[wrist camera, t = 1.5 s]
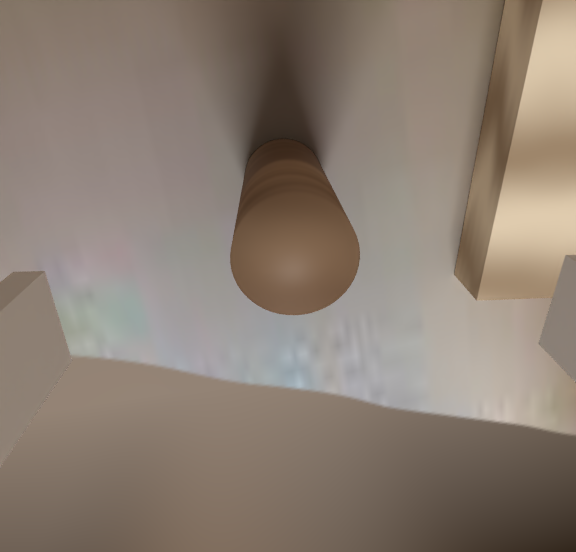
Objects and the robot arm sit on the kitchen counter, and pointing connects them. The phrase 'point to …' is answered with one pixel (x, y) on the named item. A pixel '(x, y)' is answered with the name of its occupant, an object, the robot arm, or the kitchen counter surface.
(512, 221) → the socket block
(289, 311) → the peg
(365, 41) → the kitchen counter surface
